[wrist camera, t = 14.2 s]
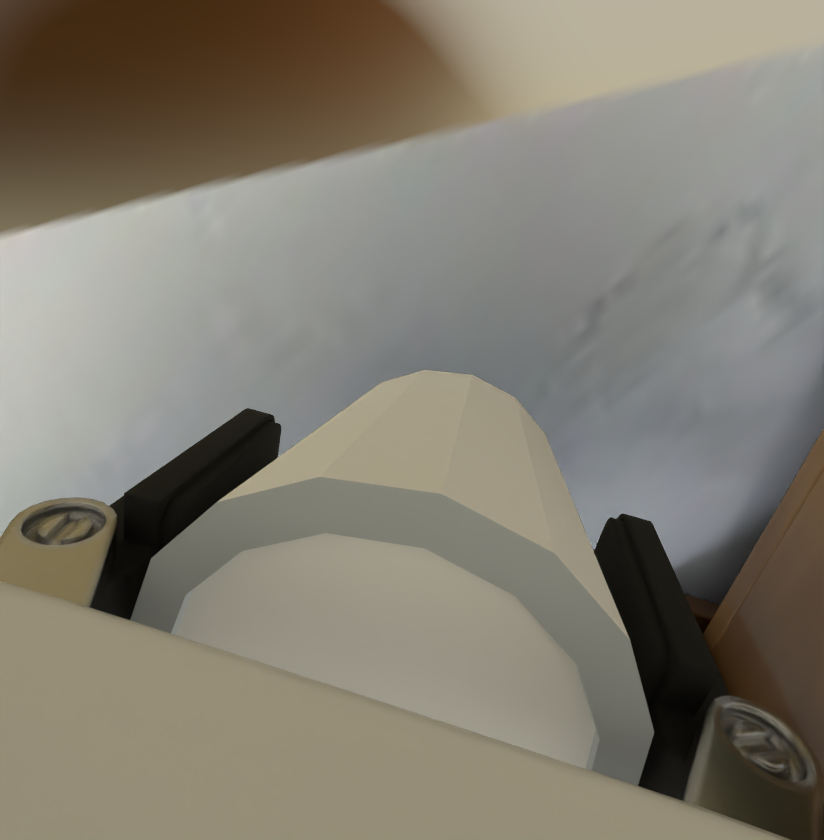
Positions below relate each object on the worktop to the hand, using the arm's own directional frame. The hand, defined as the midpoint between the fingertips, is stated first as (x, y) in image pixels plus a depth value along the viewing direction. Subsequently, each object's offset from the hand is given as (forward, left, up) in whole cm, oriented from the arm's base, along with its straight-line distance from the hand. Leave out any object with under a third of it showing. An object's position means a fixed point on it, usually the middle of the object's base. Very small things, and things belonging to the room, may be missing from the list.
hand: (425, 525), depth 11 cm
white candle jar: (0, 0, -2) cm, 2 cm away
